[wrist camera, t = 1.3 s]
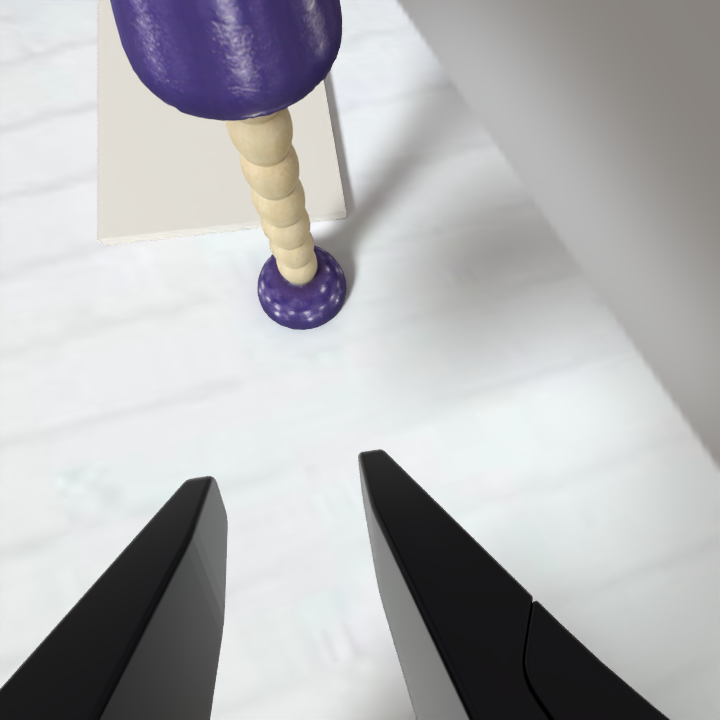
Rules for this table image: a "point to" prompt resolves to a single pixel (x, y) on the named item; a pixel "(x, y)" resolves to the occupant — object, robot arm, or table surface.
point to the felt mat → (189, 159)
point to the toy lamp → (250, 116)
